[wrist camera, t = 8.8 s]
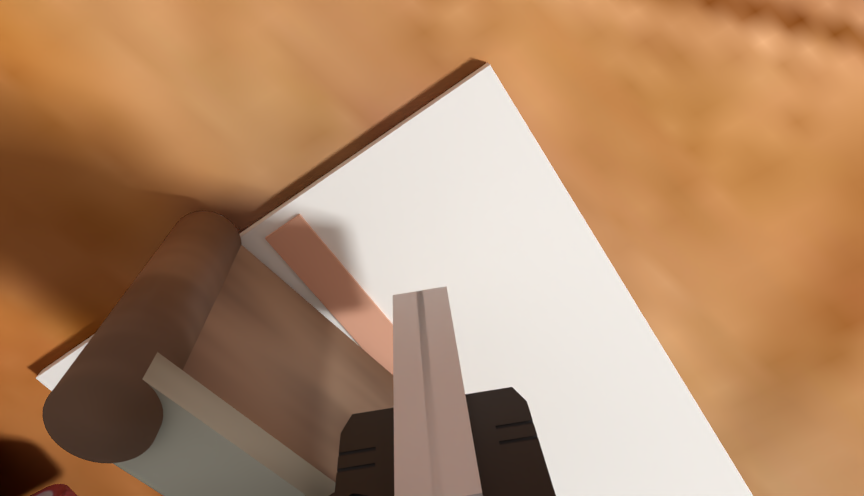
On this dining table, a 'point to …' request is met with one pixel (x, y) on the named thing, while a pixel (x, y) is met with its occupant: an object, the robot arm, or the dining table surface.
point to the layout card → (496, 292)
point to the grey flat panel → (215, 377)
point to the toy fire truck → (55, 491)
